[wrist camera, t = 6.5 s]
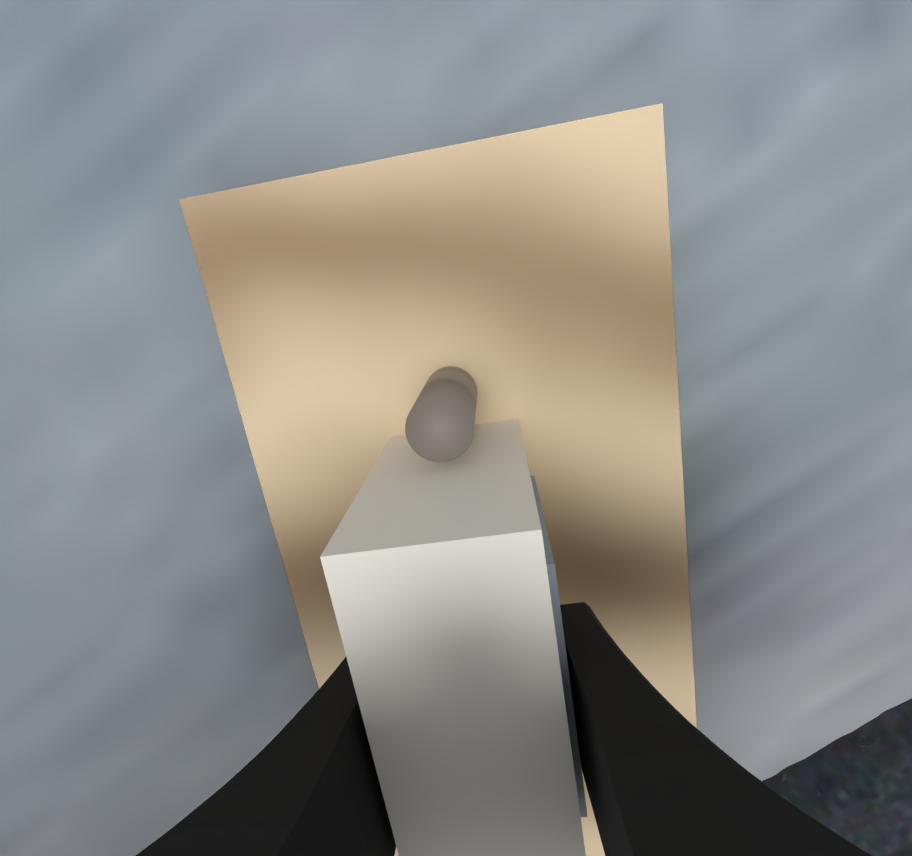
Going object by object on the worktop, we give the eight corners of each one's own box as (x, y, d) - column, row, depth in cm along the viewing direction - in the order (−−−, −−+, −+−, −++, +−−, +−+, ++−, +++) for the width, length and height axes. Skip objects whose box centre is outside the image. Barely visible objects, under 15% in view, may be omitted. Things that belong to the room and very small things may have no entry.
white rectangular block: (559, 670, 14) (602, 910, 9) (442, 682, 14) (415, 919, 9) (524, 417, 12) (553, 528, 7) (390, 436, 12) (320, 556, 7)
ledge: (689, 820, 17) (753, 994, 13) (381, 841, 18) (349, 1008, 14) (644, 120, 11) (730, 36, 7) (207, 206, 12) (73, 174, 8)
